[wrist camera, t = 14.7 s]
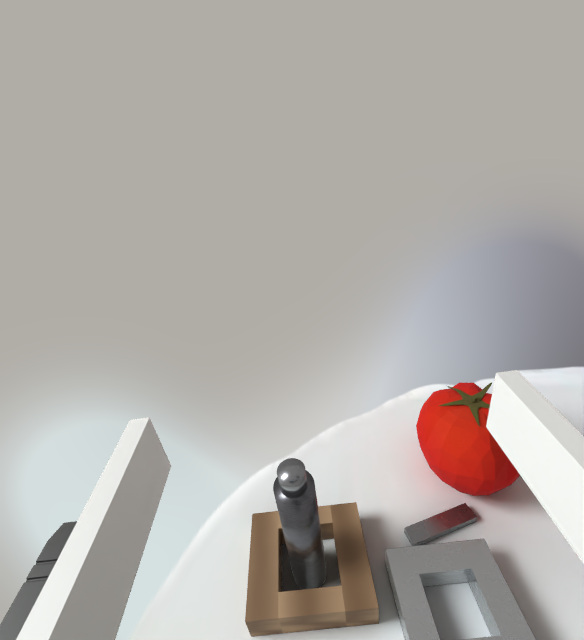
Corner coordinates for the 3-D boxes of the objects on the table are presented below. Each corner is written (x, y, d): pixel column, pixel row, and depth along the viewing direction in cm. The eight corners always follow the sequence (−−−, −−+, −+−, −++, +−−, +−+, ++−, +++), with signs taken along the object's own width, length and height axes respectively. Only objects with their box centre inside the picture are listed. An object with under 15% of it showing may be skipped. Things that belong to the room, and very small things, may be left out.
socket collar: (480, 552, 36) (484, 538, 35) (546, 686, 27) (553, 674, 26) (385, 562, 36) (385, 549, 35) (419, 698, 28) (421, 687, 26)
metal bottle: (324, 551, 38) (310, 450, 31) (328, 588, 35) (314, 486, 27) (292, 554, 38) (270, 455, 31) (293, 592, 35) (269, 491, 27)
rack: (357, 518, 41) (356, 502, 39) (378, 623, 32) (378, 607, 31) (256, 529, 41) (252, 513, 40) (251, 636, 32) (245, 621, 31)
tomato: (510, 438, 48) (526, 372, 43) (529, 532, 37) (554, 459, 32) (417, 422, 52) (421, 361, 47) (410, 502, 42) (414, 433, 36)
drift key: (464, 507, 40) (465, 502, 40) (475, 521, 39) (476, 517, 38) (404, 532, 39) (404, 527, 38) (413, 548, 37) (414, 543, 37)
